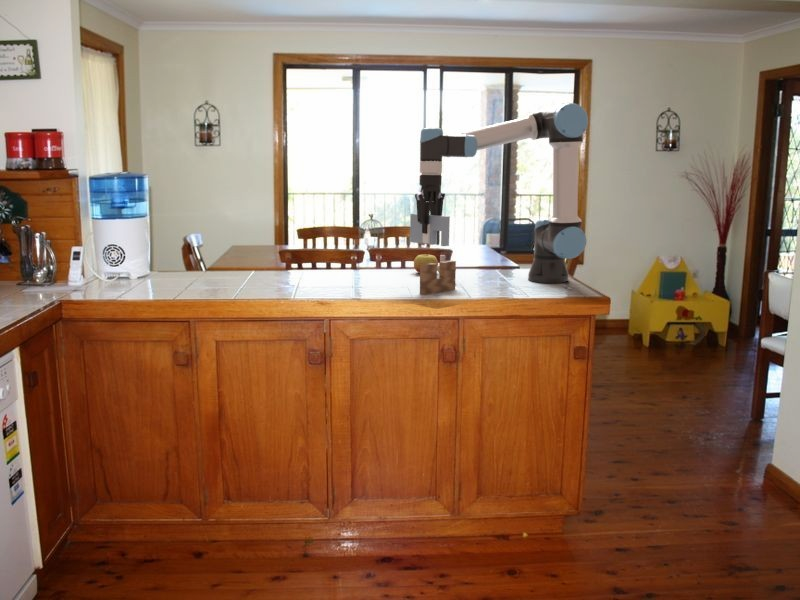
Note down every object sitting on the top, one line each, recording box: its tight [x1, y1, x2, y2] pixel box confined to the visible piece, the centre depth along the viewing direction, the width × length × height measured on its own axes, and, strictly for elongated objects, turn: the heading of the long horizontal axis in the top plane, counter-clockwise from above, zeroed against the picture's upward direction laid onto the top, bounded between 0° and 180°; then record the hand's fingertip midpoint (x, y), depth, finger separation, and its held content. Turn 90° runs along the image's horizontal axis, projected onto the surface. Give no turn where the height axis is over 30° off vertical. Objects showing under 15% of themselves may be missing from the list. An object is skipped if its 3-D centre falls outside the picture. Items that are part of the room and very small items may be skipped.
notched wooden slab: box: [419, 259, 457, 296], centre depth 263 cm, size 16×2×10 cm, turn 136°
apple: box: [413, 253, 439, 274], centre depth 303 cm, size 10×10×8 cm
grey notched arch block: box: [409, 213, 451, 247], centre depth 263 cm, size 16×2×10 cm, turn 46°
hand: (429, 242), depth 264 cm, fingers closed on grey notched arch block, 2 cm apart
